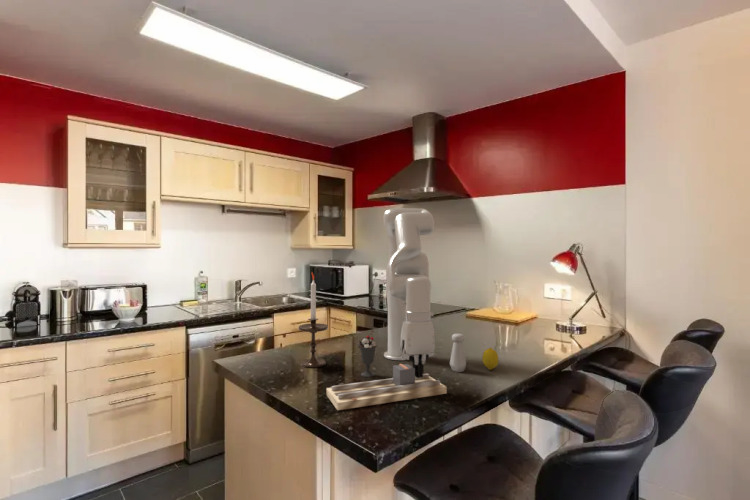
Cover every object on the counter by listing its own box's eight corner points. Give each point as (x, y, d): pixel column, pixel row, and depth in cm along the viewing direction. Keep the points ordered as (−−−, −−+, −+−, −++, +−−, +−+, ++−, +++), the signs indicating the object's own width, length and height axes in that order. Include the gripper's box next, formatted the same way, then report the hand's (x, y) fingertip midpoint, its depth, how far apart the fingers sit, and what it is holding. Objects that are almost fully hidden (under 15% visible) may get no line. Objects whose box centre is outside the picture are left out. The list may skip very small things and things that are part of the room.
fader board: (337, 410, 103) (337, 398, 103) (326, 394, 114) (326, 384, 115) (446, 393, 116) (446, 382, 116) (427, 380, 127) (427, 371, 127)
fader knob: (399, 387, 114) (399, 369, 114) (392, 382, 119) (392, 364, 119) (414, 385, 116) (414, 367, 116) (407, 380, 120) (407, 362, 120)
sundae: (380, 372, 135) (380, 330, 135) (373, 378, 129) (373, 334, 129) (362, 370, 137) (362, 328, 137) (355, 376, 131) (355, 332, 131)
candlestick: (293, 363, 146) (293, 271, 146) (317, 358, 153) (317, 270, 153) (308, 370, 138) (308, 272, 138) (333, 364, 145) (333, 271, 145)
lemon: (499, 372, 135) (499, 350, 135) (482, 371, 136) (483, 349, 137) (497, 368, 141) (497, 346, 141) (481, 367, 142) (481, 345, 142)
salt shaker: (448, 367, 141) (448, 332, 141) (463, 367, 142) (463, 332, 142) (452, 373, 135) (452, 335, 135) (468, 372, 136) (468, 335, 136)
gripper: (432, 313, 125) (432, 370, 125) (391, 316, 120) (391, 375, 120) (445, 317, 118) (445, 377, 118) (401, 320, 113) (401, 383, 113)
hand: (418, 376), depth 119 cm, fingers closed
